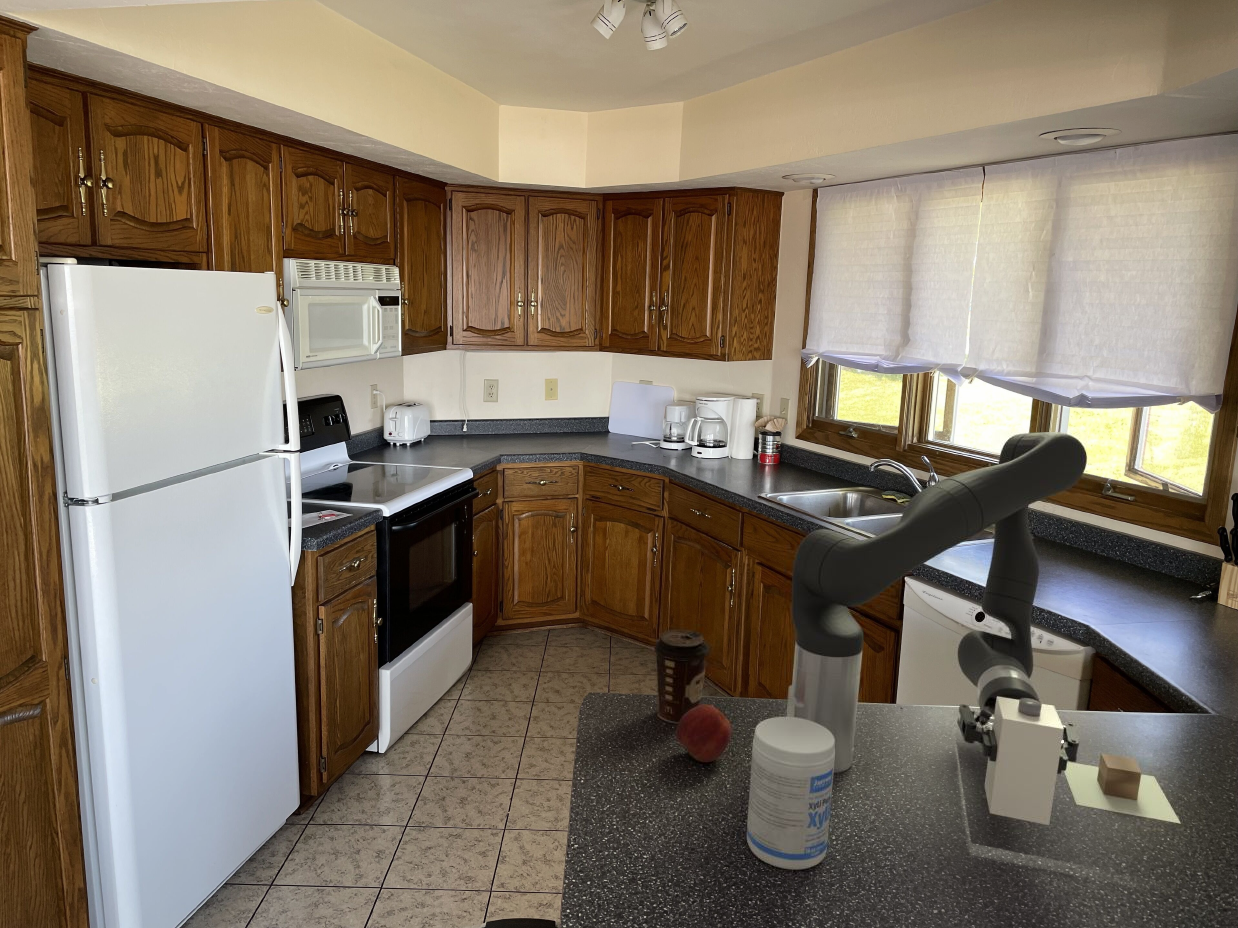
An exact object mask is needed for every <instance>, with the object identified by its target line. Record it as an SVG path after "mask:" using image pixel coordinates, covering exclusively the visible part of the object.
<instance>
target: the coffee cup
mask: <svg viewBox="0 0 1238 928" xmlns="http://www.w3.org/2000/svg"><path fill="white" fill-rule="evenodd" d="M653 649H654V652H655V654H656V657H655V659H656V662H655V663H656V684H657V688H656V691H657V705H658V710H657V716H658V718H660V719H661V720H663V721H664V722H668V723H670V724H671V723H672V724H676V725H678V723H679V721H680V720H681V718H682V717H683V716H684V715H685V714H686V713H687V712H688V711H689V710H691V709H692V708H694V707H696V706H699V705H700V701H701V698H702V694H703V689H704V688H703V686H704V680H705V673H706V668H707V663H706V660H705V658H707V656H709V655H710V652H711V648H710V646H709V645H708V642H707V641H705V638H704V636H703V635H702V633H699V632H696V631H695V630H687V629H686V630H685V629H670V630H667V631H664V632H662V633H661V634H660V635H659V639H658V640H657V641H656V642H655V644H654V646H653Z"/></svg>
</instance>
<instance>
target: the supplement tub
mask: <svg viewBox="0 0 1238 928" xmlns="http://www.w3.org/2000/svg"><path fill="white" fill-rule="evenodd" d="M834 747H835V739H834V736H833V735H832V733H831V732H830V731H829V730H828V729H826V728H825V727H823V726H821V725H819V724H817V723H815V722H812V721H809V720H806V719H801V718H795V717H787V716H777V717H776V716H775V717H769V718H767V719H764V720H762V721H760V722H759V723H758V724H757V725H756V727H755V730H754V736H753V741H752V751H751V762H750V763H751V765H750V780H749V794H748V809H747V821H746V822H747V823H746V824H747V825H746V841H747V845H748V846H749V849H750V850H751V852H752V853H753V854H754V855H755V856H756V857H757V858H758V859H760V860H761V861H763V862H764V863H767V864H769V865H771V866H773V867H777V868H781V869H786V870H805V869H809V868H811V867H814V866H816V865H818V864H819V863H821V862H822V861H823V859H824V858H825V856H826V855H827V849H828V839H829V827H830V815H831V804H832V792H833V783H834V782H833V781H834V773H833V772H834V760H835V748H834Z"/></svg>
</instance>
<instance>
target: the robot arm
mask: <svg viewBox="0 0 1238 928" xmlns="http://www.w3.org/2000/svg"><path fill="white" fill-rule="evenodd" d="M1087 461H1088V455H1087V451H1086V448H1085V446H1084V445H1083V443H1082V442H1081V441H1080V440H1079V439H1077V438H1076V437H1074V436H1073V435H1072V434H1068V433H1064V432H1057V431H1051V432H1050V431H1048V432H1046V431H1045V432H1044V431H1043V432H1027V433H1026V432H1025V433H1018V434H1014V435H1012V436H1011V437H1009V438H1008V439H1007V440H1006V441H1005V443H1004V444H1003V446H1002V448H1001V451H1000V455H999V459H998V464H996V465H990V466H986V467H981V468H977V469H974V470H973V469H971V470H969V471H964V472H961V473H958V474H954V475H951V476H949V477H947V478H945V479H941V480H940V481H938V482H936V483H934V484H932V485H930V486H928V487H926V488H924V489H922V490H921V491H919V492H918V493H916V494H915V495H914V496H912V498H911V499H910V500H909V502H908V503H907V504H906V506H905V508H904V510H903V513H902V515H901V517H900V520H899V522H898V523H897V524H896V525H895V526H893V527H892V528H890V529H888V530H887V531H884V532H882V533H880V534H877V535H876V536H873V537H870V538H867V539H856V538H854V537H852V536H850V535H845V534H842V533H840V532H838V531H835V530H830V529H825V528H823V529H816V530H813V531H811V532H809V534H807V535H806V536H805V537H804V538H803V539H802V541H801V542H800V544H799V546H798V548H797V550H796V553H795V557H794V561H793V567H792V585H791V587H792V589H791V619H792V625H793V627H794V629H795V645H794V656H793V657H794V658H793V669H792V671H793V672H792V683H791V684H790V685H789V686H788V691H787V703H786V704H787V705H786V707H787V708H786V717H795V718H801V719H806V720H809V721H812V722H815V723H817V724H819V725H821V726H823V727H825V728H826V729H828V730H829V731H830V732H831V733H832V735H833V736H834V739H835V747H834V748H835V760H834V772H833V774H838V773H839V774H840V773H843V772H845V771H847V770H849V769H850V768H851V767H852V764H853V757H854V755H853V754H854V750H855V749H854V743H855V734H856V724H857V722H856V721H857V714H858V713H857V712H858V711H857V710H858V700H859V691H860V679H861V669H862V659H863V648H864V631H863V628H862V627H861V626H860V624H859V623H858V622H857V621H856V619H855V618H854V616H852V614H851V612H850V611H849V609H848V607H850V608H851V607H857V606H861V605H864V604H865V603H867V602H869V601H870V600H873V599H875V597H877V596H879V595H880V594H881V593H882V592H884V591H885V590H887V589H888V588H890V586H892V585H893V584H895V583H896V582H897V581H899V580H900V579H902V578H903V577H904V576H906V575H908V574H909V573H910V572H912V571H913V570H914V569H917V568H918V567H919V566H921V565H924V564H925V563H927V562H928V561H930V560H932V559H934V558H935V557H937V556H939V555H940V554H942V553H944V552H946V551H948V550H950V549H952V548H953V547H956V546H958V545H960V544H961V543H963V542H966V541H967V540H969V539H971V538H973V537H974V536H976V535H978V534H979V533H981V532H982V531H984V530H986V529H987V528H989V527H991V526H993V525H994V537H993V538H994V539H993V548H992V553H991V559H990V565H989V569H988V574H987V578H986V583H985V586H984V593H983V596H982V602H981V609H982V611H983V613H984V614H985V615H987V616H988V617H991V618H992V619H995V620H997V621H998V622H1000V623H1003V624H1004V625H1005V626H1006V627H1007V628H1008V631H1009V632H1010V638H1009V637H1006V636H1003V635H999V634H995V633H991V632H988V631H985V630H984V631H983V630H973V631H970V632H968V633H966V634H965V635H964V636H962V638H961V639H960V642H959V644H958V647H957V661H958V665H959V667H960V669H961V671H962V673H963V675H964V676H965V677H966V678H967V680H968V681H970V682H971V684H973V685H974V686H975V687H976V689H977V690H976V691H977V692H976V694H977V695H976V696H977V697H976V699H977V705H978V707H979V711H975V710H974V709H971V708H970V705H967V704H962V703H961V704H959V705H958V706H959V707H958V714H957V722H956V723H957V725H958V728H959V731H960V733H961V735H962V739H963V741H964V742H965V743H968V744H974V743H975V742H976V743H979V746H980V747H981V751H982V754H983V755H984V756H985V757H987V758H988V757H989V761H993V762H996V756H997V749H998V745H997V741H996V736H995V732H993V731H994V727H993V721H994V714H995V706H996V699H997V696H998V697H1004V698H1010V699H1016V700H1020V699H1021V698H1029V699H1033V700H1036V701H1038V702H1040V703H1041V700H1040V698H1039V696H1038V695H1039V694H1038V693H1037V690H1036V688H1035V686H1034V683H1033V682H1032V681H1031V679H1030V678H1032V675H1033V671H1034V655H1033V645H1032V634H1031V633H1032V627H1031V624H1032V623H1031V622H1032V620H1031V619H1032V612H1033V606H1034V601H1035V598H1036V592H1037V587H1038V582H1039V574H1040V568H1039V567H1040V566H1039V565H1040V564H1039V558H1038V554H1037V551H1036V548H1035V545H1034V541H1033V538H1032V535H1031V531H1030V526H1029V521H1028V520H1029V519H1028V511H1029V507H1030V505H1032V504H1034V503H1036V502H1040V501H1041V500H1044V499H1047V498H1049V497H1052V496H1056V495H1057V494H1060V493H1063V492H1065V491H1067V490H1069V489H1071V488H1072V487H1073V486H1075V485H1076V484H1077V483H1078V481H1080V479H1081V478H1082V477H1083V474H1084V472H1085V470H1086V467H1087ZM978 724H979V725H981V726H977V725H978ZM1062 726H1063V728H1064V731H1063V738H1062V744H1061V751H1060V757H1059V764H1058V770H1057V775H1061V774H1062V771H1063V772H1064V771H1066V768H1067V762H1072V763H1076V762H1077V759H1078V756H1077V755H1078V749H1079V745H1080V738H1079V734H1078V728H1077V725H1076V724H1074V723H1072V722H1068V721H1067V722H1065V724H1064V725H1062Z"/></svg>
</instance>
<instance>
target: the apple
mask: <svg viewBox="0 0 1238 928" xmlns="http://www.w3.org/2000/svg"><path fill="white" fill-rule="evenodd" d="M675 736H676V739H677V741H678V742H679V744H681V745H683V747H684V748H685V749H686V750H687V752H688V753H687V755H688V756H691V757H692V758H693V759H695V760H697V761H698V762H701V763H711V762H714V761H715V760H717V759H719V758H720V757H721V756H722V755H723V754H724V752H725V751H726V749H727V747H728V745H729V743H730V741H731V736H732V726H731V723H730V721H729V719H728V718H727V717H726V716H725V715H724V714H723V713H722V712H721V710H719V709H718V708H717V707H715V706H713V705H710V704H706V703H705V704H699V706H696V707H694V708H692V709H691V710H689V711H688V712H687V713H686V714H685V715H684V716H683V717H682V718H681V720H680V721H679V723H678V724H676V728H675Z"/></svg>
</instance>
